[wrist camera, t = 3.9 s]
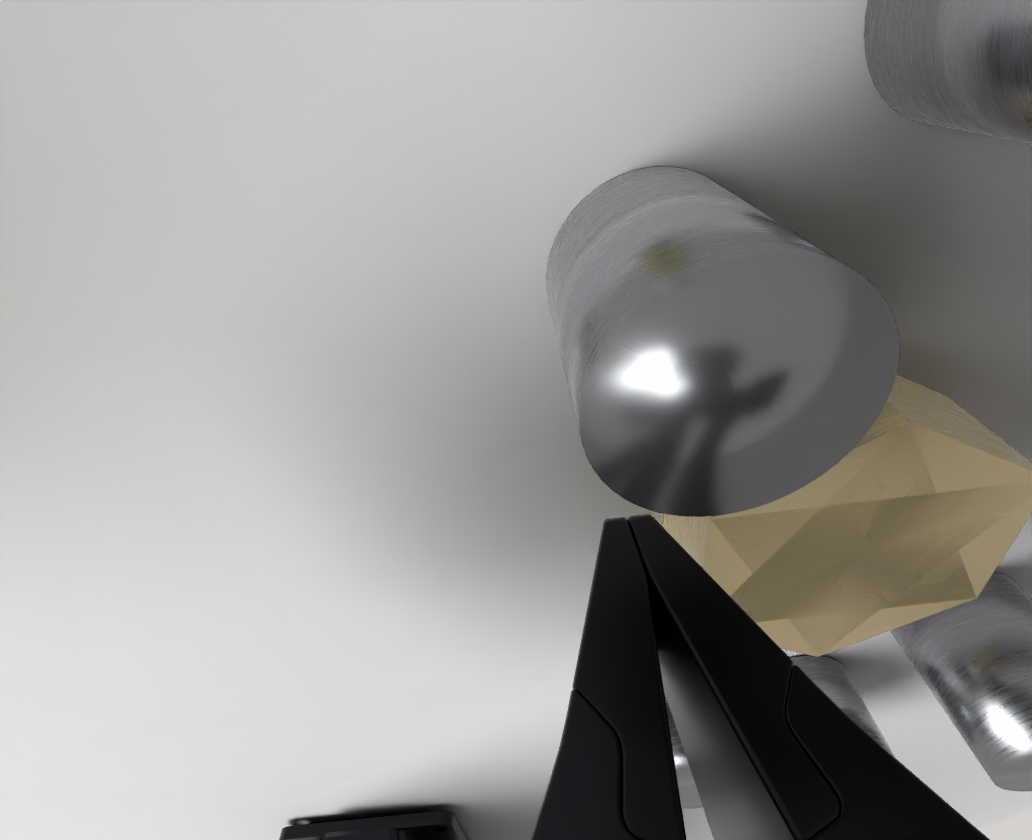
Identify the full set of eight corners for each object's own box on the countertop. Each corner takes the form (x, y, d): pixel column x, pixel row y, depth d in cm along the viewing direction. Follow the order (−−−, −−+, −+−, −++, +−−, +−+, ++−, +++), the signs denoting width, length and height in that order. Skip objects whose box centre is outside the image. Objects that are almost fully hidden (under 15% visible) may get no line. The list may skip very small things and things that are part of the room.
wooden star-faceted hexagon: (964, 470, 11) (1068, 564, 9) (709, 584, 13) (748, 682, 11) (906, 287, 8) (1031, 362, 7) (600, 462, 10) (626, 560, 8)
